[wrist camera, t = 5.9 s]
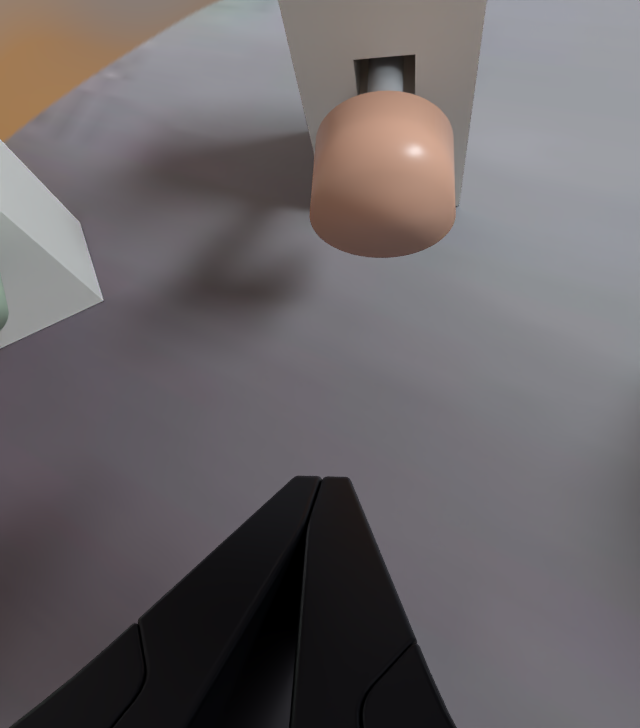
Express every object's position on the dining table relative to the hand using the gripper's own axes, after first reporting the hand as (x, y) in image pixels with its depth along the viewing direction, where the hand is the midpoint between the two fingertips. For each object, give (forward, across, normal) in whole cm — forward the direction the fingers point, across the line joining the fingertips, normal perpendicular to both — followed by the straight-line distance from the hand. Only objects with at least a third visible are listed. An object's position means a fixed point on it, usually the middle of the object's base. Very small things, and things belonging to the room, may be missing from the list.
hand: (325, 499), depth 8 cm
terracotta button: (+14, -1, -3) cm, 14 cm away
